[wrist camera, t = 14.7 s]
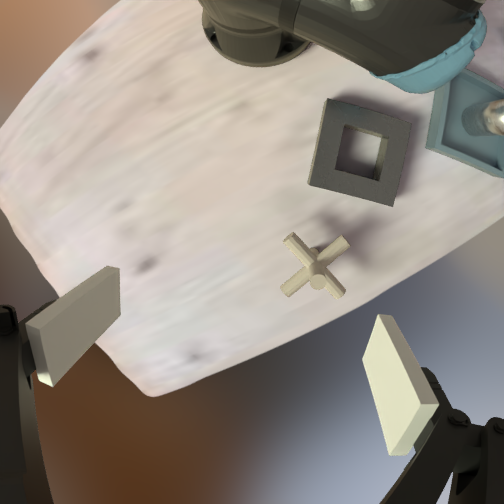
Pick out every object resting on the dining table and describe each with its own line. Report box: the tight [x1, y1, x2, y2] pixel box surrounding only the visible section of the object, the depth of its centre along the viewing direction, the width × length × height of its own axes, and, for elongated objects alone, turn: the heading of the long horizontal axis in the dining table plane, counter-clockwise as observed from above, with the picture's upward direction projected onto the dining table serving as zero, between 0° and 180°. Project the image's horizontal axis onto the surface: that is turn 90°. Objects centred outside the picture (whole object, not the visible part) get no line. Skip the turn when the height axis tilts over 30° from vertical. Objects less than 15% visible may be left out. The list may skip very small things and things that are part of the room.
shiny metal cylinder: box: [461, 99, 504, 137], centre depth 29 cm, size 4×4×12 cm
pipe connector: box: [280, 232, 351, 299], centre depth 40 cm, size 10×10×10 cm
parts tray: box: [425, 68, 504, 178], centre depth 34 cm, size 13×13×3 cm
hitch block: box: [308, 98, 411, 207], centre depth 38 cm, size 11×11×4 cm
